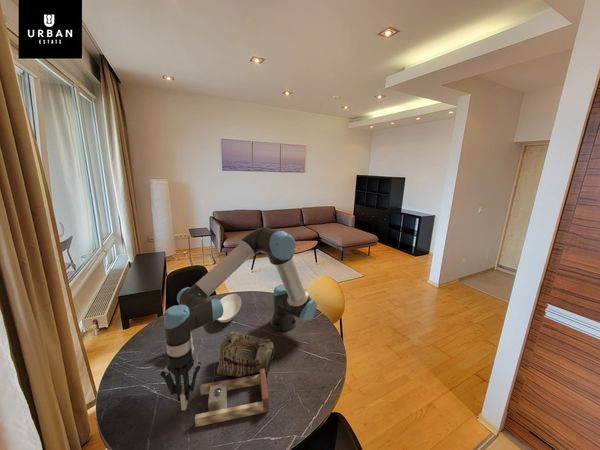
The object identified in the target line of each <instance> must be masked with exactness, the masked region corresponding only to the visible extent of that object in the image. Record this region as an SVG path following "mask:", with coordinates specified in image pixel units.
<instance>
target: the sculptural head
mask: <svg viewBox="0 0 600 450" xmlns="http://www.w3.org/2000/svg"><path fill="white" fill-rule="evenodd" d="M225 336H226V338H225V339H223V341H222V343H221V344H220V349H219V359H218V360H219V362H218V367H217V369H216V373H217V375H222V376H231V377H235V378H242V377H246V376H253V375H255V374H257V373H260V369H264V368H265V373H269V372H270V366H271V363H272V360H273V359H274V353H275V347H274V342H272V340H271V339H268V338H267V339H266V338H264V337H262V338H260V337H257V336H253V335H249V334H243V333H239V332H237V331H231V332H229V333H228V334H226V335H225Z"/></svg>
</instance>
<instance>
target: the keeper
mask: <svg viewBox="0 0 600 450" xmlns="http://www.w3.org/2000/svg"><path fill="white" fill-rule="evenodd" d="M207 405H208V412H211V411H216V410H221V409H226V408H228V407H227V405H228V390H227V383H226V384H220V385H214V386H210V393H209V394H208V403H207Z"/></svg>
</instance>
